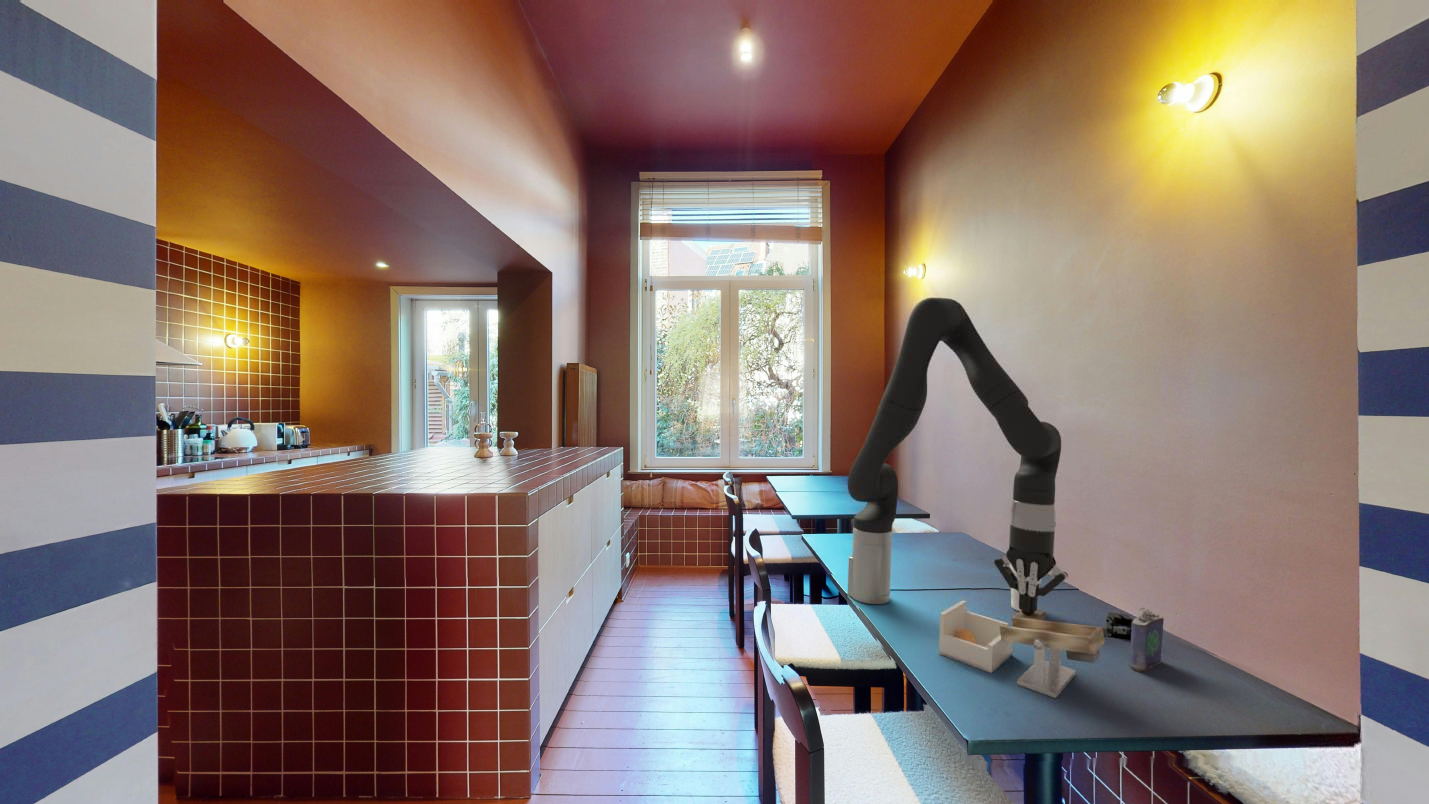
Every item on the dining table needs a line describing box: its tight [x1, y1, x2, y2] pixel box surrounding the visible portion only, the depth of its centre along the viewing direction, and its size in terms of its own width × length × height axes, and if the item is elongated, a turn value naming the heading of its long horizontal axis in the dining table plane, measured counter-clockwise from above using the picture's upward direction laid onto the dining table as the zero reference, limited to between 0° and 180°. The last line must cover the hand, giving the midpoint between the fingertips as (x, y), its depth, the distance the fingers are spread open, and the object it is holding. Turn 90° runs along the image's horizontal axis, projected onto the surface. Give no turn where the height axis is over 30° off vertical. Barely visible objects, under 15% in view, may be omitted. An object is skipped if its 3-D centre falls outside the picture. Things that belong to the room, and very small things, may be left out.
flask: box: [1129, 607, 1164, 673], centre depth 108 cm, size 9×3×11 cm, turn 121°
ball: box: [956, 630, 975, 644], centre depth 112 cm, size 4×4×4 cm
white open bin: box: [938, 600, 1013, 674], centre depth 110 cm, size 10×11×8 cm
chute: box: [1000, 610, 1105, 664], centre depth 103 cm, size 15×13×4 cm
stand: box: [1016, 638, 1076, 699], centre depth 101 cm, size 6×12×9 cm, turn 134°
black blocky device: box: [1102, 612, 1134, 641], centre depth 122 cm, size 12×7×5 cm, turn 74°
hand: (1027, 613), depth 109 cm, fingers closed
